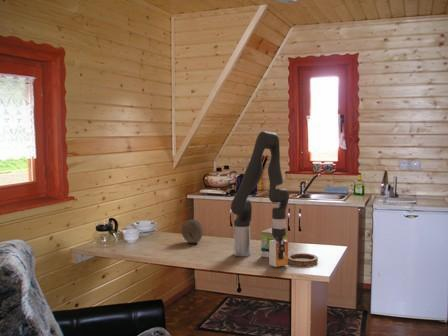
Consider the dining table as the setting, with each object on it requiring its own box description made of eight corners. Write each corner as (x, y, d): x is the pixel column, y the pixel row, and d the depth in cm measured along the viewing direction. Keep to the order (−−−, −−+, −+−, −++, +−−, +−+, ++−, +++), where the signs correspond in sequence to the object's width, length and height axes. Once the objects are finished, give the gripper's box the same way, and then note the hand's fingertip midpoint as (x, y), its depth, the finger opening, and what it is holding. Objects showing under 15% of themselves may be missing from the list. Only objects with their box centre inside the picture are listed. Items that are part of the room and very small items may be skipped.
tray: (292, 267, 259) (292, 261, 258) (284, 259, 274) (284, 254, 274) (321, 265, 261) (321, 260, 261) (311, 257, 277) (311, 252, 277)
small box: (275, 267, 256) (275, 242, 255) (268, 264, 261) (268, 240, 260) (288, 265, 260) (288, 240, 259) (281, 262, 265) (281, 238, 264)
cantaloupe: (208, 242, 317) (207, 219, 315) (192, 246, 306) (192, 223, 305) (192, 239, 326) (191, 217, 324) (176, 243, 315) (176, 220, 314)
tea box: (276, 259, 275) (276, 233, 274) (260, 256, 280) (260, 231, 279) (287, 252, 288) (287, 228, 286) (272, 250, 293) (272, 226, 292)
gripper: (268, 224, 265) (268, 253, 267) (275, 229, 251) (275, 261, 253) (282, 223, 266) (282, 253, 268) (289, 229, 252) (289, 260, 254)
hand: (278, 256), depth 260 cm, fingers closed on small box, 7 cm apart
